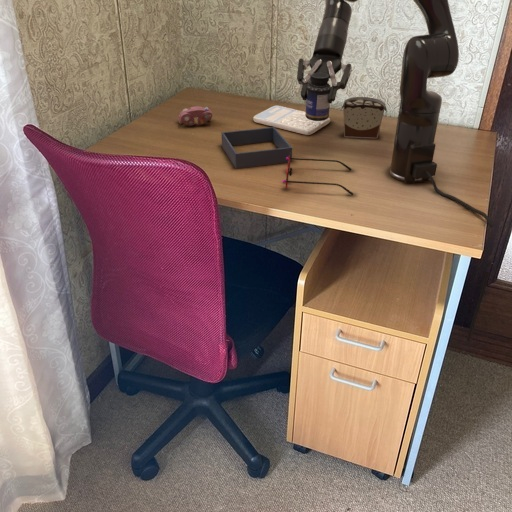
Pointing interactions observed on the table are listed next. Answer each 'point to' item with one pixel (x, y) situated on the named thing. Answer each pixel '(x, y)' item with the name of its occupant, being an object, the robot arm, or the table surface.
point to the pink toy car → (195, 115)
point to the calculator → (289, 120)
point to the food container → (363, 117)
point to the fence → (256, 156)
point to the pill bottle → (318, 97)
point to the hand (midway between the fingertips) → (316, 100)
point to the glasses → (312, 182)
